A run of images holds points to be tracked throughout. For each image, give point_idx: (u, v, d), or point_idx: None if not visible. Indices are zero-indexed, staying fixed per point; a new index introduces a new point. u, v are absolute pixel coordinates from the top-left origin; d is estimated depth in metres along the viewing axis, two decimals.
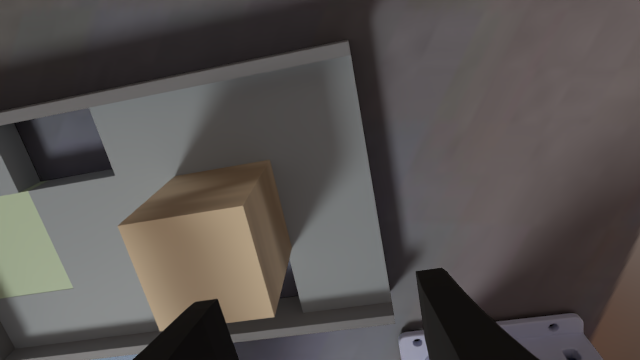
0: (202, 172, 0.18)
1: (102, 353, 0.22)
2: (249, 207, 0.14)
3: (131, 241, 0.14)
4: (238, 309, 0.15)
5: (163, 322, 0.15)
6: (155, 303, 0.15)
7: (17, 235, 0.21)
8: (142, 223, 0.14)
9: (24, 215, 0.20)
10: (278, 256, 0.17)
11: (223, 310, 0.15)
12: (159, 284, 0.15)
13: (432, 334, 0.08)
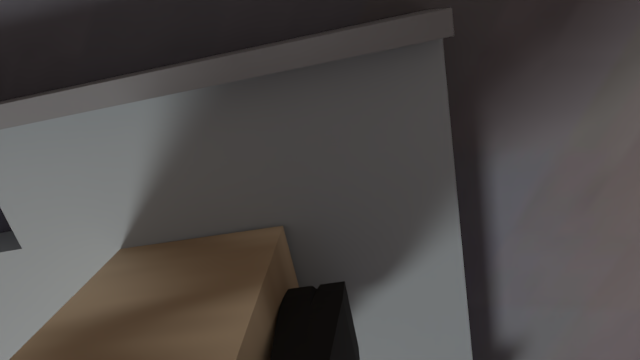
0: (166, 245, 0.11)
1: None
2: None
3: None
4: None
5: None
6: None
7: None
8: None
9: None
10: None
11: None
12: None
13: None
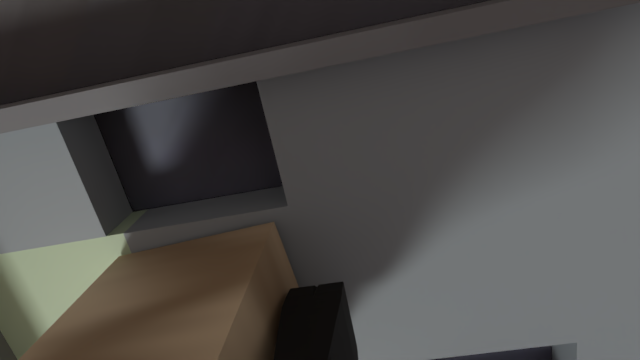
0: (161, 249, 0.11)
1: None
2: None
3: None
4: None
5: None
6: None
7: None
8: None
9: None
10: None
11: None
12: None
13: None
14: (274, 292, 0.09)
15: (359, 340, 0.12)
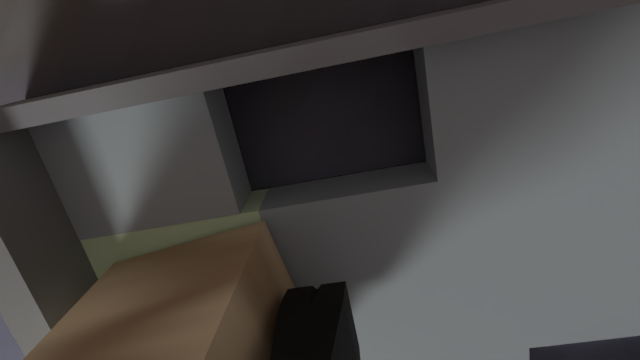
0: (155, 254, 0.11)
1: None
2: None
3: None
4: None
5: None
6: None
7: None
8: None
9: None
10: None
11: None
12: None
13: None
14: (266, 290, 0.09)
15: (492, 324, 0.11)
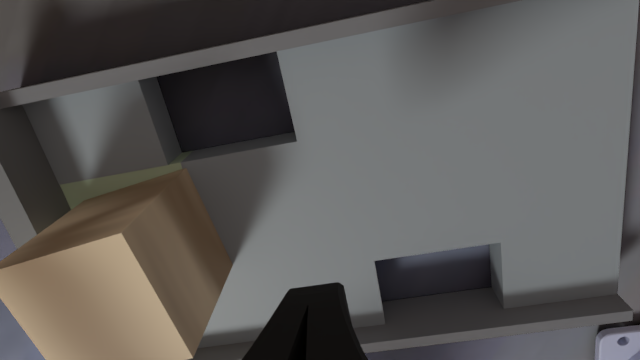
0: (112, 192, 0.16)
1: None
2: (137, 232, 0.12)
3: (3, 290, 0.12)
4: (149, 353, 0.13)
5: None
6: (52, 357, 0.13)
7: None
8: (10, 268, 0.12)
9: None
10: (203, 280, 0.14)
11: (132, 356, 0.13)
12: (50, 336, 0.12)
13: None
14: (182, 207, 0.14)
15: (347, 243, 0.17)
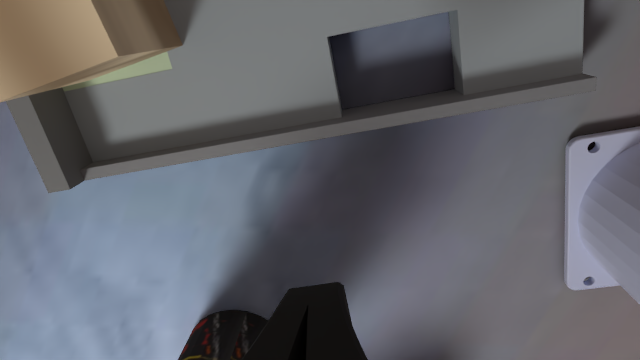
0: None
1: (208, 151, 0.17)
2: None
3: None
4: (73, 52, 0.12)
5: None
6: None
7: None
8: None
9: None
10: (141, 18, 0.14)
11: (56, 57, 0.12)
12: None
13: None
14: None
15: (298, 15, 0.16)
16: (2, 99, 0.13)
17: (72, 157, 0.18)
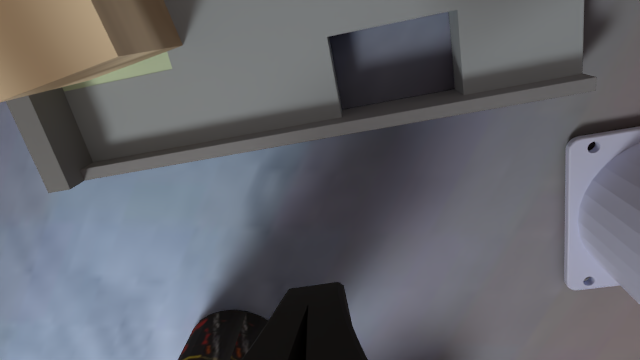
0: None
1: (208, 151, 0.17)
2: None
3: None
4: (73, 52, 0.12)
5: None
6: None
7: None
8: None
9: None
10: (141, 18, 0.14)
11: (56, 57, 0.12)
12: None
13: None
14: None
15: (298, 15, 0.16)
16: (2, 99, 0.13)
17: (72, 157, 0.18)
